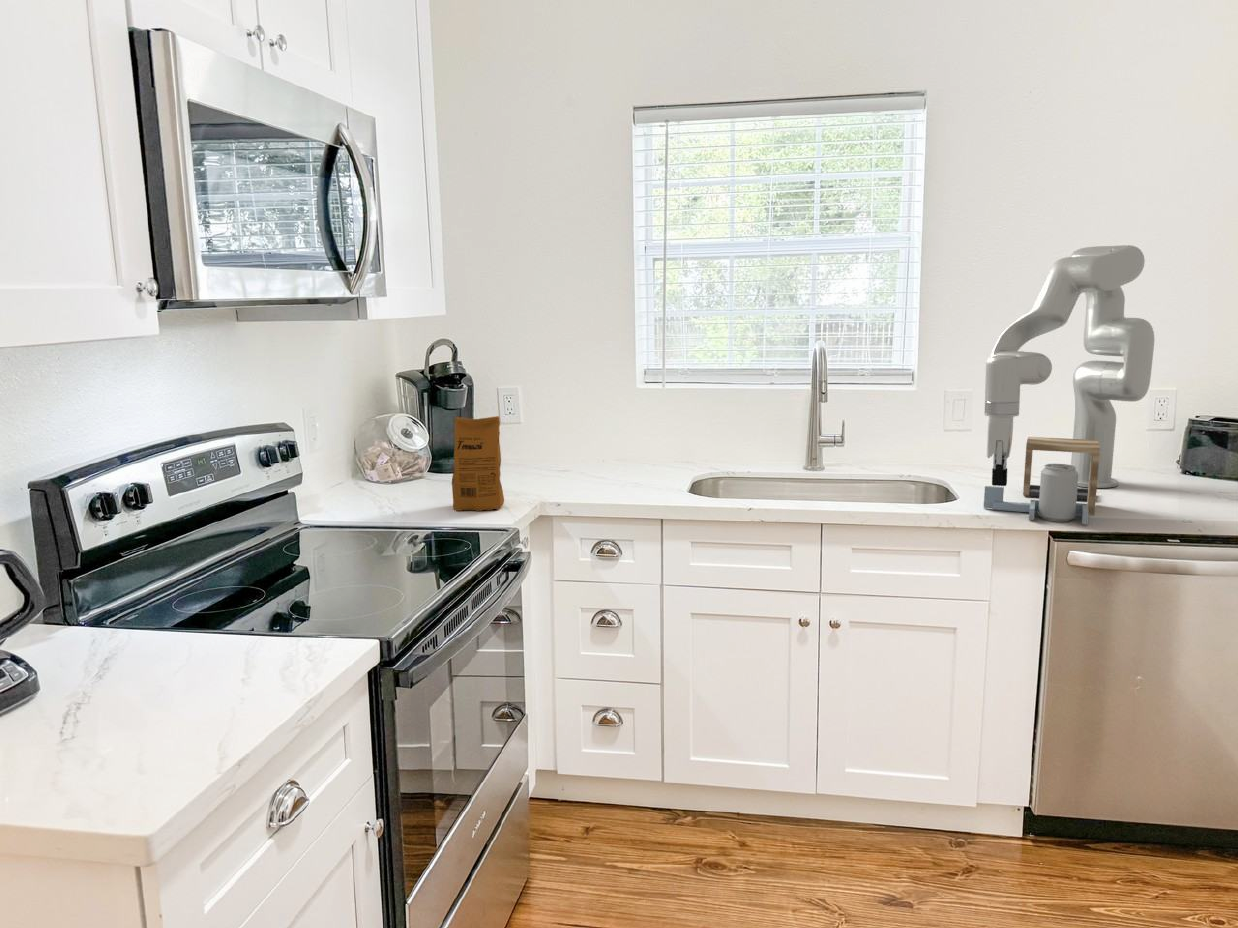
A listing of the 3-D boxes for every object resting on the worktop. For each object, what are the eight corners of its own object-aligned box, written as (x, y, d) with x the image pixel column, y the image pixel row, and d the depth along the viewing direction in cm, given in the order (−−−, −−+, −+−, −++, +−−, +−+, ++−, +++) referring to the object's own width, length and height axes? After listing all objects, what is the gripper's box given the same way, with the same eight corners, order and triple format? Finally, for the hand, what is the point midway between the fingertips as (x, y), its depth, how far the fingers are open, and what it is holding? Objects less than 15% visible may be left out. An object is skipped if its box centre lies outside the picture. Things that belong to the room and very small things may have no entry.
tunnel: (1023, 498, 226) (1028, 436, 223) (1092, 504, 220) (1097, 440, 217) (1022, 509, 215) (1026, 444, 212) (1094, 515, 209) (1099, 448, 206)
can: (1078, 523, 202) (1082, 469, 200) (1040, 521, 204) (1044, 467, 202) (1071, 515, 209) (1075, 462, 207) (1035, 513, 211) (1039, 461, 209)
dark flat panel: (1025, 489, 236) (1025, 484, 235) (1091, 494, 229) (1092, 489, 229) (1023, 496, 228) (1024, 491, 228) (1092, 501, 222) (1093, 495, 222)
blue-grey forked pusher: (983, 506, 217) (985, 485, 216) (1086, 514, 208) (1088, 492, 207) (980, 515, 209) (982, 493, 208) (1087, 524, 200) (1089, 501, 199)
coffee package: (456, 502, 230) (452, 414, 226) (506, 502, 230) (503, 413, 226) (448, 512, 220) (444, 419, 216) (501, 511, 220) (498, 419, 216)
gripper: (986, 403, 227) (984, 477, 230) (982, 413, 213) (979, 491, 217) (1020, 404, 224) (1017, 478, 227) (1018, 414, 210) (1015, 493, 214)
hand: (999, 484), depth 222 cm, fingers closed
